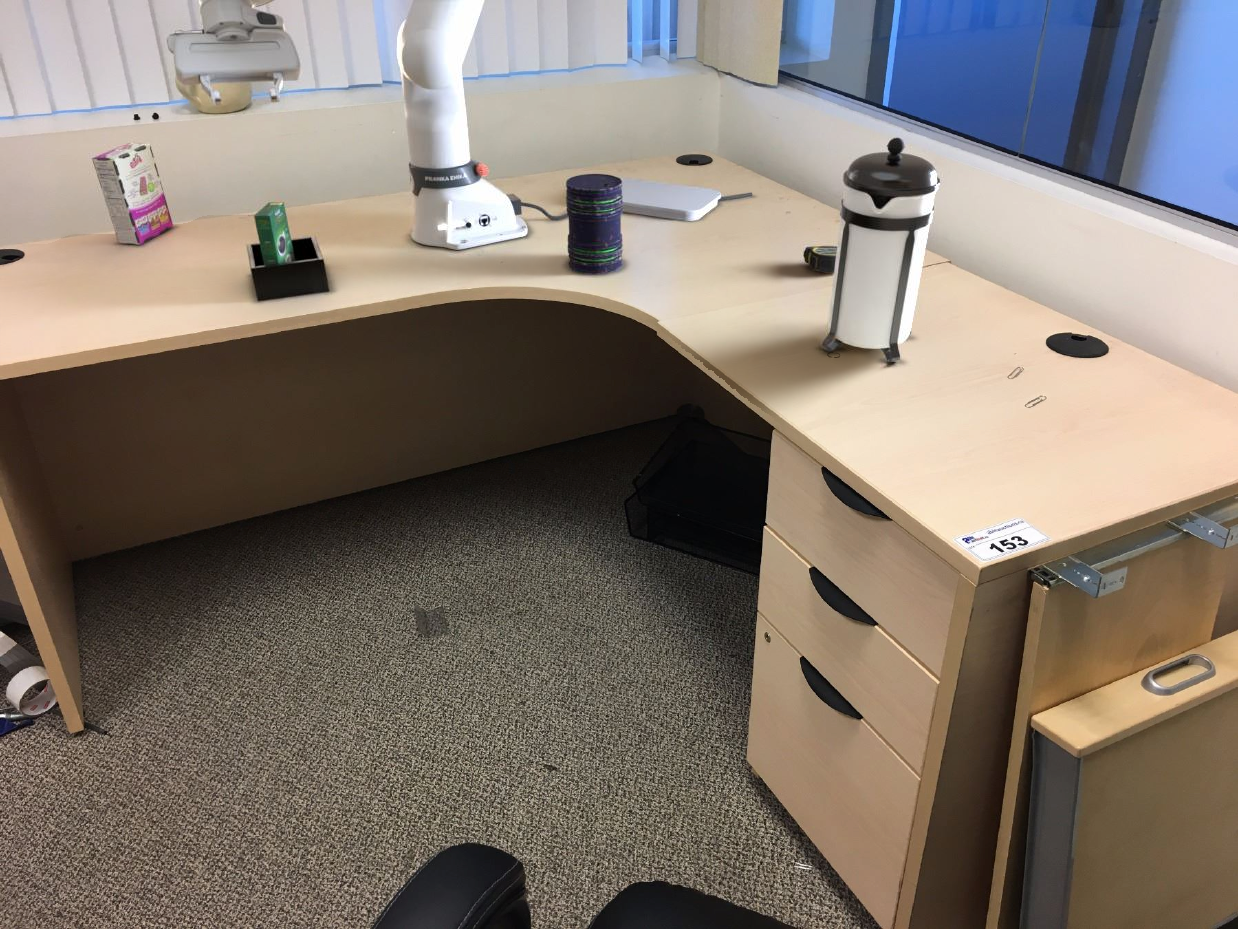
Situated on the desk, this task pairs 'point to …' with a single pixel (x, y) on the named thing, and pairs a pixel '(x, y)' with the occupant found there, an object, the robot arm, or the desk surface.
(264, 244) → the coffee box
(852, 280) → the coffee press
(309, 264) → the desk tray
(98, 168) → the candy bar box
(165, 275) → the desk surface
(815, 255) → the tape measure
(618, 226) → the storage jar
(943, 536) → the desk surface
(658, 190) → the tablet
